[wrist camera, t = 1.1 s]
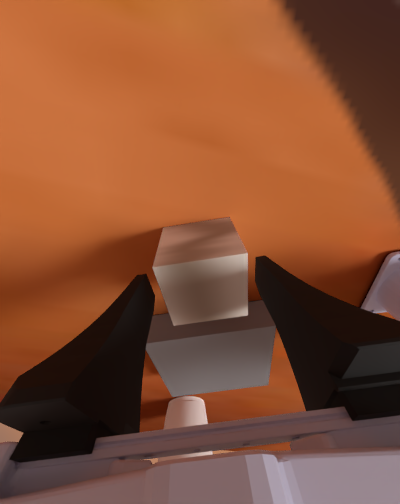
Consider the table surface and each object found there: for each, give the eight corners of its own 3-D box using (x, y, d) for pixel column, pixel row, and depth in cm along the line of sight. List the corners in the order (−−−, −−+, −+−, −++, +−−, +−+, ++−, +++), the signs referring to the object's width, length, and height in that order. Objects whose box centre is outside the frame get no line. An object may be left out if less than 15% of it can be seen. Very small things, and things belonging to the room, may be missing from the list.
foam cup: (154, 394, 29) (134, 549, 18) (211, 389, 29) (225, 540, 18) (164, 415, 34) (153, 545, 23) (213, 411, 34) (225, 538, 24)
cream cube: (229, 216, 14) (247, 253, 9) (232, 268, 16) (247, 315, 12) (163, 227, 14) (152, 267, 9) (177, 277, 16) (173, 325, 12)
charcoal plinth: (264, 299, 18) (276, 325, 16) (260, 359, 25) (268, 385, 22) (148, 316, 19) (142, 344, 16) (174, 370, 25) (172, 397, 23)
